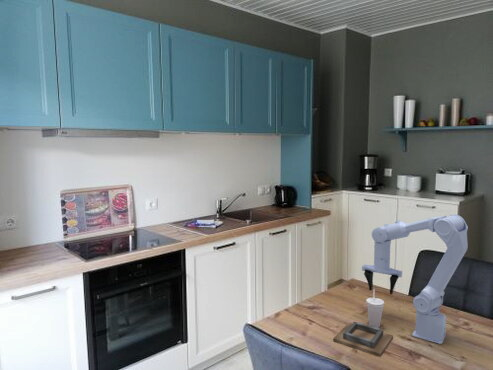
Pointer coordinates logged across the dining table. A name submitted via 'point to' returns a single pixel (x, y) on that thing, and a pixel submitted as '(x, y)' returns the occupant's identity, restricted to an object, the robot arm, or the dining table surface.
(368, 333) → the bottle stand
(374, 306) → the smoothie
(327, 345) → the dining table surface
